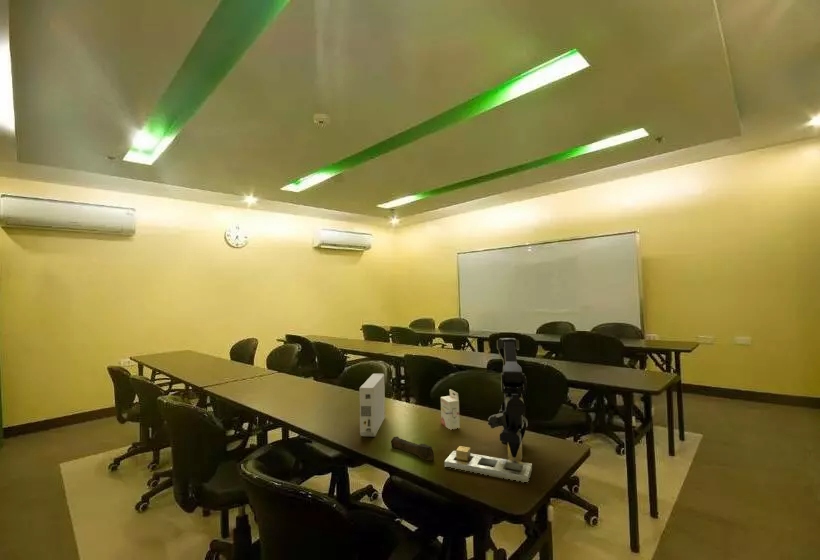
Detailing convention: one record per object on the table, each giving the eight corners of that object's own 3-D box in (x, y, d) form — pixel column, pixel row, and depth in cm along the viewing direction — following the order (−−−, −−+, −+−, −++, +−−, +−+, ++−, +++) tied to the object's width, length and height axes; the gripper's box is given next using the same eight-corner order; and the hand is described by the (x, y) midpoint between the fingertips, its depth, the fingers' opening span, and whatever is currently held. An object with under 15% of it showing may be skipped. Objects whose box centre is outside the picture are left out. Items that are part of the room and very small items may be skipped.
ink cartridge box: (440, 423, 161) (439, 389, 162) (450, 422, 163) (449, 388, 163) (449, 430, 153) (448, 394, 154) (460, 428, 155) (459, 393, 155)
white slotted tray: (453, 456, 128) (453, 441, 128) (532, 470, 117) (531, 454, 117) (444, 467, 120) (444, 451, 120) (528, 483, 109) (527, 465, 109)
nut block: (510, 455, 126) (509, 437, 127) (522, 457, 125) (521, 439, 125) (508, 459, 123) (507, 441, 123) (520, 461, 121) (519, 443, 121)
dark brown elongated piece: (390, 448, 136) (389, 436, 136) (398, 445, 139) (397, 433, 139) (428, 464, 123) (427, 450, 123) (436, 460, 125) (435, 446, 126)
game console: (385, 416, 172) (385, 373, 173) (374, 439, 145) (373, 387, 146) (373, 416, 173) (373, 373, 174) (360, 438, 146) (359, 387, 147)
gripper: (495, 398, 136) (497, 441, 136) (483, 412, 120) (484, 461, 119) (527, 401, 132) (528, 445, 131) (518, 416, 115) (520, 468, 114)
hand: (515, 454), depth 124 cm, fingers closed on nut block, 4 cm apart
